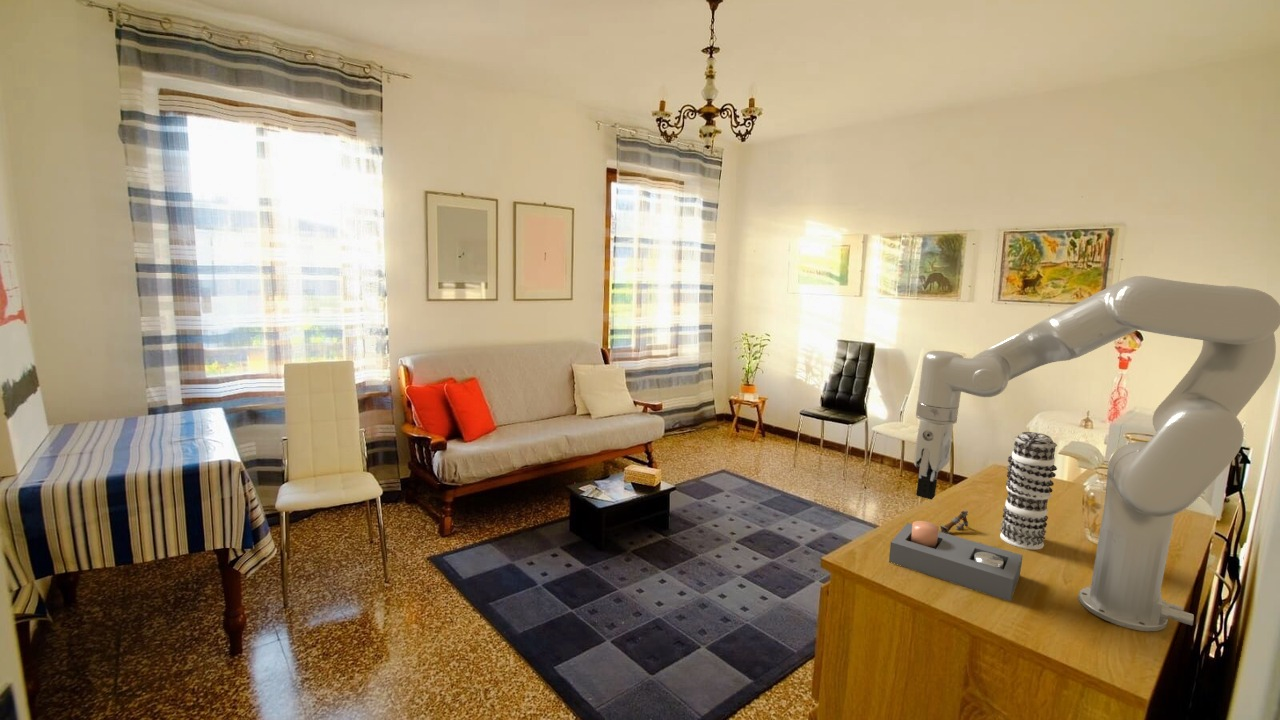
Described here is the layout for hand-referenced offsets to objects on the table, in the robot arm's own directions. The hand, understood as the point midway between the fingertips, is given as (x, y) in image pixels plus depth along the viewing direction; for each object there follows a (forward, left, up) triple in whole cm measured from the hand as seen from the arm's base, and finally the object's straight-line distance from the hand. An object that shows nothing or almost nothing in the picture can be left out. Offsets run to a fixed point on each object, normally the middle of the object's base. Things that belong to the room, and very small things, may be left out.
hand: (925, 496), depth 123 cm
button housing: (-7, 0, -14) cm, 15 cm away
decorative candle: (-16, -24, -14) cm, 32 cm away
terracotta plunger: (-1, 0, -10) cm, 11 cm away
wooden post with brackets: (-3, -20, -14) cm, 25 cm away
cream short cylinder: (-13, 0, -13) cm, 18 cm away
